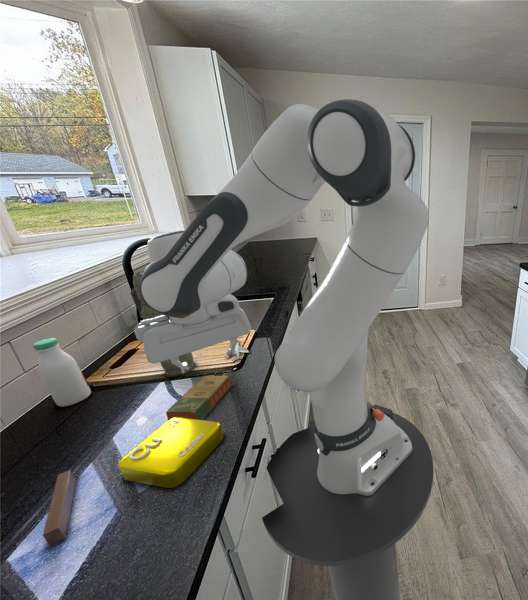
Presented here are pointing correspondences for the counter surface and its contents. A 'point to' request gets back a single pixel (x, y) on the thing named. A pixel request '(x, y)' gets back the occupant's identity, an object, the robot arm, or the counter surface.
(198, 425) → the element tile
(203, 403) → the carton
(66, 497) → the back rail
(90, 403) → the counter surface
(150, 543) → the counter surface
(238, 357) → the toy airplane
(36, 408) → the counter surface
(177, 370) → the thermos
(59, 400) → the milk bottle
